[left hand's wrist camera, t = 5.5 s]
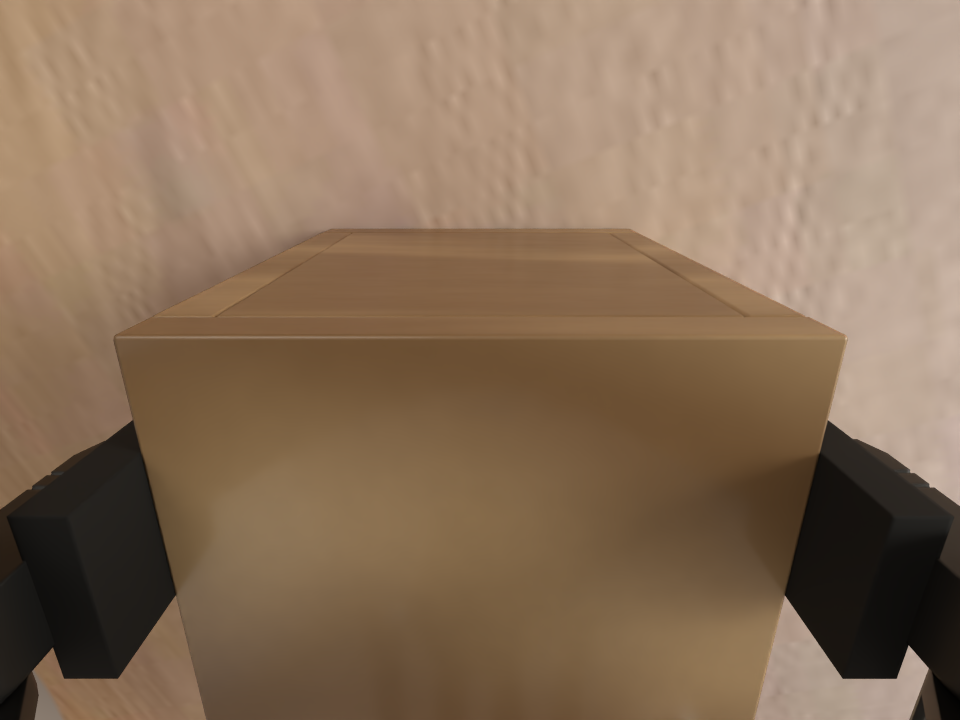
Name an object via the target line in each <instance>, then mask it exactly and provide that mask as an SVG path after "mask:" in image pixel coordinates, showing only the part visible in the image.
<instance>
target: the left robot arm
mask: <svg viewBox="0 0 960 720" xmlns="http://www.w3.org/2000/svg"><path fill="white" fill-rule="evenodd" d="M175 595H176V593H175V589H174V585H173V581H172V577H171V573H170V569H169V564H168V560H167V556H166V552H165V548H164V544H163V540H162V536H161V532H160V528H159V524H158V520H157V516H156V511H155V507H154V503H153V499H152V495H151V491H150V487H149V483H148V479H147V475H146V471H145V467H144V462H143V458H142V454H141V450H140V446H139V442H138V438H137V434H136V430H135V426H134V422H133V420H132V421H131V422H130V423H128V424H127V425H126V426H125V427H123V428H122V429H121V430H119V431H118V432H117V433H115V434H114V435H113V436H111V437H110V438H109V439H108V440H106V441H104V442H101V443H99V444H97V445H95V446H93V447H91V448H89V449H86V450H84V451H82V452H80V453H78V454H76V455H74V456H72V457H71V458H70V459H68V460H67V461H66V462H64V463H63V464H62V465H60V466H59V467H57V468H56V469H55V470H53V471H52V472H51V475H47V476H45V477H44V478H43V479H41V480H40V481H39V482H37V483H36V484H34V485H33V486H32V490H26V491H25V492H24V493H22V494H21V495H20V496H18V497H17V498H15V499H14V500H13V501H11V502H10V503H9V504H7V505H6V506H5V507H3V508H2V509H1V510H0V720H34V719H35V713H36V707H37V701H38V696H39V695H38V689H37V683H36V680H35V678H34V675H33V673H32V671H33V669H34V668H35V667H36V666H37V665H38V664H39V662H40V661H41V660H42V659H43V658H44V657H45V656H46V654H47V653H48V652H49V651H50V650H51V649H52V647H53V649H54V651H55V654H56V657H57V660H58V663H59V665H60V668H61V671H62V674H63V677H64V679H118V678H119V676H120V675H121V673H122V672H123V670H124V669H125V668H126V666H127V665H128V663H129V662H130V660H131V659H132V657H133V656H134V655H135V653H136V652H137V650H138V649H139V647H140V646H141V644H142V643H143V642H144V640H145V639H146V637H147V636H148V634H149V633H150V631H151V630H152V629H153V627H154V626H155V624H156V623H157V621H158V620H159V618H160V617H161V616H162V614H163V613H164V611H165V610H166V608H167V607H168V605H169V604H170V603H171V601H172V600H173V598H174V597H175ZM785 596H786V597H787V599H788V600H789V602H790V603H791V605H792V606H793V607H794V609H795V610H796V612H797V613H798V615H799V616H800V618H801V619H802V620H803V622H804V623H805V625H806V626H807V628H808V629H809V631H810V632H811V633H812V635H813V636H814V638H815V639H816V641H817V642H818V644H819V645H820V646H821V648H822V649H823V651H824V652H825V654H826V655H827V657H828V658H829V659H830V661H831V662H832V664H833V665H834V667H835V668H836V670H837V671H838V672H839V674H840V675H841V677H842V678H843V679H897V676H898V673H899V670H900V668H901V665H902V662H903V659H904V656H905V654H906V651H907V648H908V645H909V646H910V647H911V648H912V649H913V650H914V652H915V653H916V654H917V655H918V656H919V657H920V658H921V660H922V661H923V662H924V663H925V664H926V665H927V666H928V668H929V670H928V673H927V675H926V678H925V680H924V683H923V686H922V688H921V691H920V693H919V696H918V699H917V701H916V704H915V707H914V709H913V712H912V714H911V717H910V720H960V506H959V505H957V504H956V503H955V502H953V501H952V500H950V499H949V498H948V497H946V496H945V495H944V494H942V493H941V492H939V491H938V490H937V489H935V488H930V487H929V483H927V482H926V481H924V480H923V479H922V478H920V477H919V476H918V475H916V474H915V473H910V470H909V469H908V468H907V467H905V466H904V465H903V464H901V463H900V462H899V461H897V460H896V459H894V458H893V457H892V456H890V455H889V454H888V453H886V452H883V451H881V450H879V449H877V448H875V447H873V446H870V445H868V444H866V443H864V442H862V441H860V440H858V439H852V438H851V437H849V436H848V435H847V434H845V433H844V432H843V431H841V430H840V429H839V428H837V427H836V426H835V425H833V424H832V423H831V422H830V421H827V425H826V429H825V433H824V438H823V442H822V446H821V450H820V454H819V458H818V462H817V466H816V470H815V474H814V478H813V482H812V486H811V490H810V495H809V499H808V503H807V507H806V511H805V515H804V519H803V523H802V527H801V531H800V535H799V539H798V543H797V547H796V552H795V556H794V560H793V564H792V568H791V572H790V576H789V580H788V584H787V588H786V592H785Z"/></svg>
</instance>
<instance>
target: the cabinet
mask: <svg viewBox="0 0 960 720" xmlns="http://www.w3.org/2000/svg"><path fill="white" fill-rule="evenodd" d="M114 344H115V348H116V352H117V356H118V361H119V365H120V369H121V373H122V377H123V381H124V385H125V389H126V393H127V397H128V401H129V405H130V409H131V414H132V418H133V422H134V426H135V430H136V434H137V438H138V442H139V446H140V450H141V454H142V458H143V462H144V467H145V471H146V475H147V479H148V483H149V487H150V491H151V495H152V499H153V503H154V507H155V511H156V516H157V520H158V524H159V528H160V532H161V536H162V540H163V544H164V548H165V552H166V556H167V560H168V564H169V569H170V573H171V577H172V581H173V585H174V589H175V593H176V597H177V601H178V605H179V609H180V613H181V618H182V622H183V626H184V630H185V634H186V638H187V642H188V646H189V650H190V654H191V658H192V662H193V666H194V671H195V675H196V679H197V683H198V687H199V691H200V695H201V699H202V703H203V707H204V711H205V715H206V719H207V720H754V719H755V714H756V710H757V706H758V702H759V698H760V694H761V690H762V686H763V682H764V678H765V674H766V670H767V666H768V662H769V657H770V653H771V649H772V645H773V641H774V637H775V633H776V629H777V625H778V621H779V617H780V613H781V609H782V605H783V600H784V596H785V592H786V588H787V584H788V580H789V576H790V572H791V568H792V564H793V560H794V556H795V552H796V547H797V543H798V539H799V535H800V531H801V527H802V523H803V519H804V515H805V511H806V507H807V503H808V499H809V495H810V490H811V486H812V482H813V478H814V474H815V470H816V466H817V462H818V458H819V454H820V450H821V446H822V442H823V438H824V433H825V429H826V425H827V421H828V417H829V413H830V409H831V405H832V401H833V397H834V393H835V389H836V385H837V381H838V376H839V372H840V368H841V364H842V360H843V356H844V352H845V348H846V344H847V336H846V335H844V334H842V333H840V332H838V331H836V330H834V329H832V328H830V327H828V326H826V325H824V324H822V323H820V322H818V321H816V320H814V319H812V318H809V317H805V316H804V315H802V314H800V313H798V312H796V311H794V310H792V309H790V308H788V307H786V306H784V305H782V304H780V303H778V302H776V301H774V300H772V299H770V298H768V297H766V296H764V295H762V294H760V293H758V292H756V291H754V290H752V289H750V288H748V287H746V286H744V285H742V284H740V283H738V282H736V281H734V280H732V279H730V278H728V277H726V276H723V275H721V274H719V273H717V272H715V271H713V270H711V269H709V268H707V267H705V266H703V265H701V264H699V263H697V262H695V261H693V260H691V259H689V258H687V257H685V256H683V255H681V254H679V253H677V252H675V251H673V250H671V249H669V248H667V247H665V246H663V245H661V244H659V243H657V242H655V241H653V240H651V239H649V238H647V237H645V236H643V235H641V234H639V233H637V232H635V231H633V230H631V229H330V230H328V231H326V232H324V233H321V234H319V235H317V236H315V237H313V238H311V239H309V240H307V241H304V242H302V243H300V244H298V245H296V246H294V247H292V248H290V249H288V250H286V251H284V252H282V253H280V254H278V255H276V256H274V257H272V258H270V259H268V260H266V261H264V262H262V263H260V264H258V265H256V266H254V267H252V268H250V269H248V270H246V271H244V272H242V273H240V274H237V275H235V276H233V277H231V278H229V279H227V280H225V281H223V282H221V283H219V284H217V285H215V286H213V287H211V288H209V289H207V290H205V291H203V292H201V293H199V294H197V295H195V296H193V297H191V298H189V299H187V300H185V301H183V302H181V303H179V304H177V305H175V306H173V307H170V308H168V309H166V310H164V311H162V312H160V313H158V314H156V315H154V316H153V317H151V318H149V319H147V320H145V321H143V322H141V323H139V324H137V325H135V326H133V327H131V328H129V329H127V330H125V331H123V332H121V333H119V334H117V335H115V336H114Z"/></svg>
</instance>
